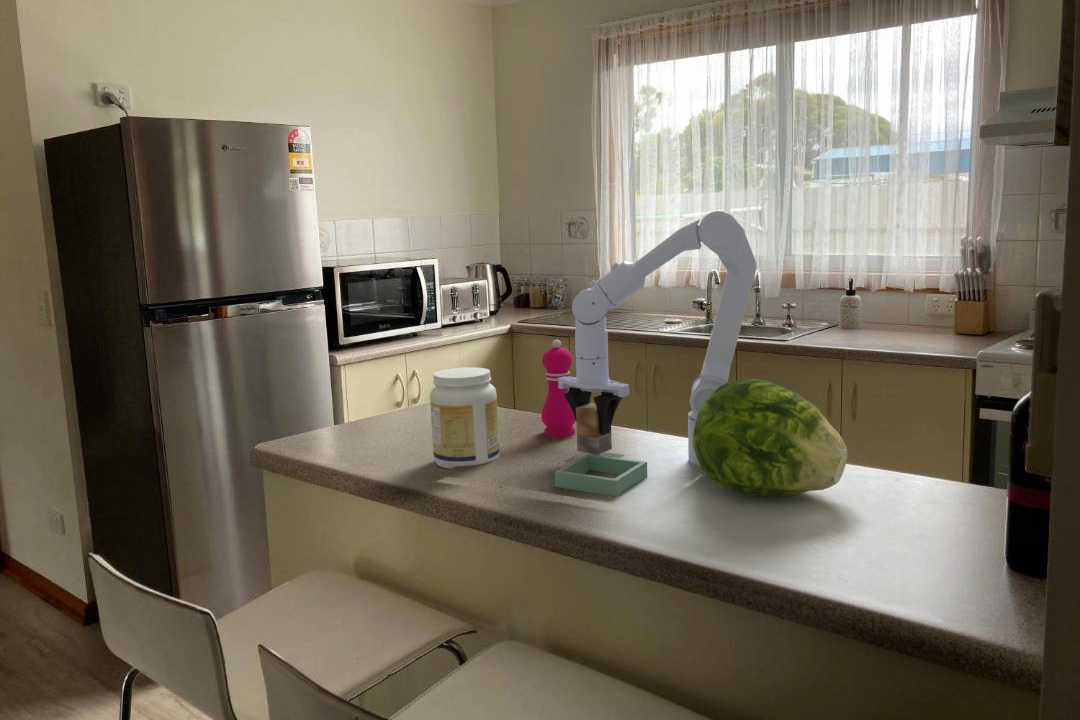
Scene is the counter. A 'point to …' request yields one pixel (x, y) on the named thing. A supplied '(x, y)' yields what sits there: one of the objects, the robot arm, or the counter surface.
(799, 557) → the counter surface
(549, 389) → the pepper mill
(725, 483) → the lettuce
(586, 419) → the strut
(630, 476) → the bin
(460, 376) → the supplement tub
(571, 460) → the base
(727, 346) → the robot arm
